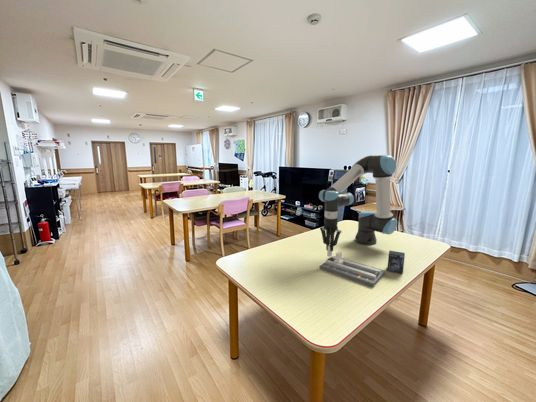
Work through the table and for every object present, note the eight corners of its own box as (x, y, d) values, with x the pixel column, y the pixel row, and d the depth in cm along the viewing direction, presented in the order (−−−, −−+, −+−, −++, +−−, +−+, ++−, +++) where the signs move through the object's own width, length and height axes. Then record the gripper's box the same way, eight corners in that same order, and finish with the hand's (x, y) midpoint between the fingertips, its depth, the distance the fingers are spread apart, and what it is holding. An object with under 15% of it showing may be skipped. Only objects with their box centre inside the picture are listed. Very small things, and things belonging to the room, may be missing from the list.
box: (387, 271, 134) (388, 253, 132) (387, 267, 139) (389, 250, 137) (403, 274, 130) (404, 256, 128) (403, 270, 135) (404, 252, 133)
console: (334, 258, 151) (334, 252, 150) (384, 274, 131) (385, 267, 130) (319, 268, 138) (320, 262, 137) (373, 287, 118) (374, 279, 117)
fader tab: (336, 261, 142) (337, 250, 141) (343, 263, 139) (343, 252, 138) (333, 263, 139) (334, 252, 138) (340, 265, 137) (340, 254, 135)
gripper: (317, 217, 140) (316, 254, 144) (338, 220, 131) (336, 260, 136) (324, 214, 145) (323, 251, 150) (344, 218, 137) (342, 256, 141)
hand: (329, 255), depth 143 cm, fingers closed
